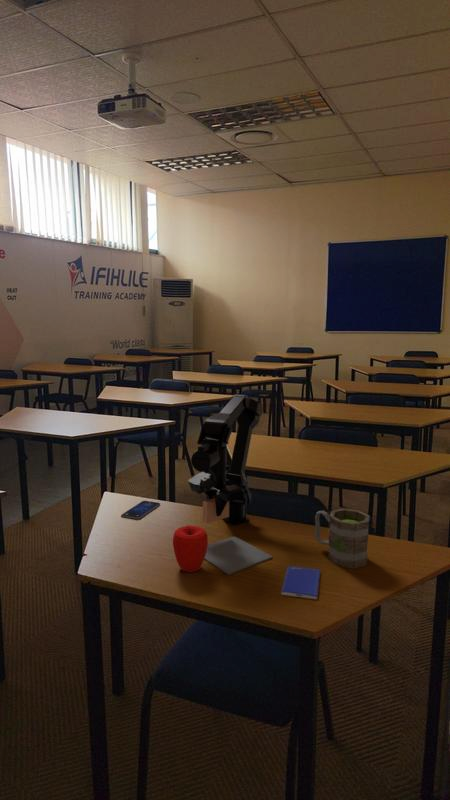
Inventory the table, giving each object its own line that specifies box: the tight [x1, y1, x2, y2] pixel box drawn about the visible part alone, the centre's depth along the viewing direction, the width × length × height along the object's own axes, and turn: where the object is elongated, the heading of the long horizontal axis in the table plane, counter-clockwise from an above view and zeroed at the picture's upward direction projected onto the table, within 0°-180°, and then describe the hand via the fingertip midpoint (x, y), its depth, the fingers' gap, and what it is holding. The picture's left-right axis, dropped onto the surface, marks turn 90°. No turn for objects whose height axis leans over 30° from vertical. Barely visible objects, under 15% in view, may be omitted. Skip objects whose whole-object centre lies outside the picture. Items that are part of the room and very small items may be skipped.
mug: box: [314, 508, 371, 569], centre depth 136 cm, size 16×11×12 cm
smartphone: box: [120, 500, 161, 521], centre depth 168 cm, size 7×1×15 cm
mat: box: [204, 535, 273, 575], centre depth 137 cm, size 15×16×1 cm
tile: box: [202, 498, 229, 524], centre depth 146 cm, size 8×2×6 cm, turn 128°
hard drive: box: [281, 565, 321, 600], centre depth 122 cm, size 2×8×12 cm
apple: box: [172, 525, 209, 573], centre depth 129 cm, size 9×9×11 cm
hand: (216, 514), depth 146 cm, fingers closed on tile, 2 cm apart
